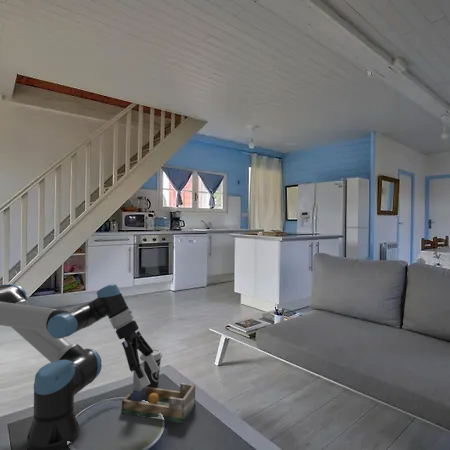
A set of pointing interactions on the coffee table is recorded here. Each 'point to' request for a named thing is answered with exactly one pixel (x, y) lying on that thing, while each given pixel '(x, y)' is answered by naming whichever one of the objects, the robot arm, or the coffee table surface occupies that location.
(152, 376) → the coffee cup
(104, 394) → the coffee table surface
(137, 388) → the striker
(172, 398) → the wooden tray
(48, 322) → the robot arm
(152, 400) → the ball
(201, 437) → the coffee table surface
